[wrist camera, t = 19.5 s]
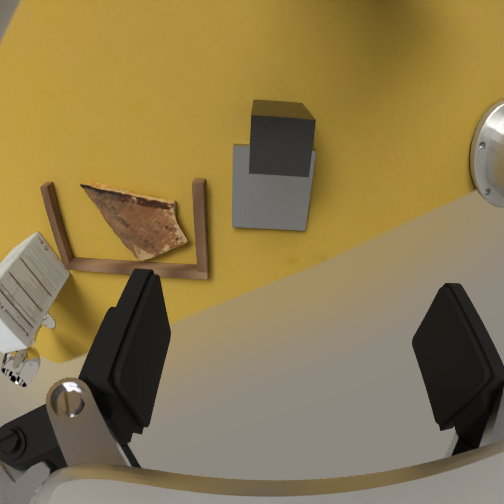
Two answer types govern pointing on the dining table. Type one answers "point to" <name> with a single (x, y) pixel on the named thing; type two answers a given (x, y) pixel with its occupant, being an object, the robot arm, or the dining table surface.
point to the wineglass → (25, 359)
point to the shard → (138, 219)
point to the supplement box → (27, 290)
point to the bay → (128, 266)
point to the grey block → (274, 168)
